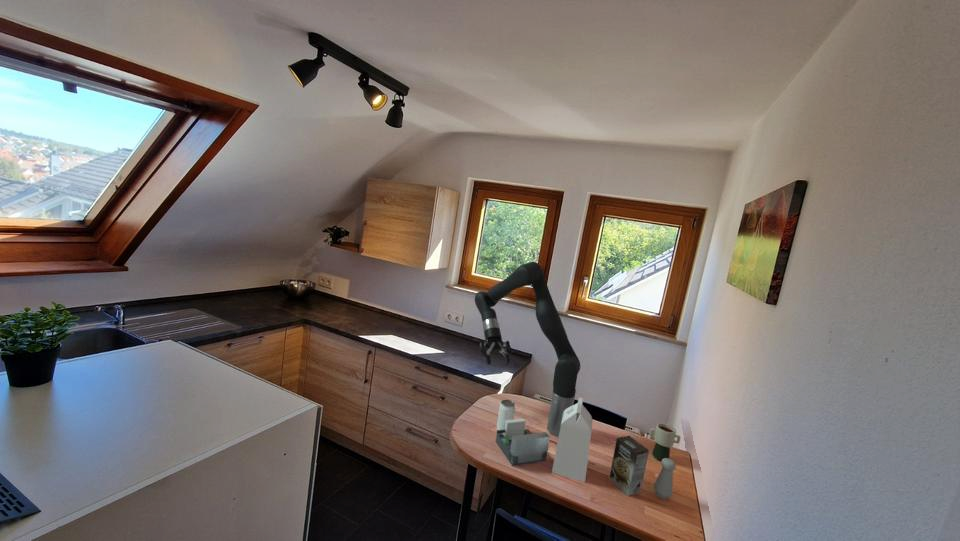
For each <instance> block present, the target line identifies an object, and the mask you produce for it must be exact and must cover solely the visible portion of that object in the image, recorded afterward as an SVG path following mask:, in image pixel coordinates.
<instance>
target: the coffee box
mask: <svg viewBox="0 0 960 541" xmlns="http://www.w3.org/2000/svg"><path fill="white" fill-rule="evenodd" d="M615 441H616V442H615V446H614V452H613V457H612V463H611V467H610V472H609V478H608V480H610V482H612V483H613V484H614V485H615V486H616V487H618V488H619V489H620V490H621V491H622V492H623V493H624V494H625V495H626V496H627V497H629V496H633V495H637V494H640V493H641V492H642V487H643V481H644V477H645V473H646V466H647V463H648V458H649V453H650V450H649V449H648V448H647V447H645V446H644V445H643V444H642V443H640V442H639V441H637V440H636V439H635V438H633V437H632V436H630V435H626V436H625V435H624V436H620V437H617V438H616V440H615Z"/></svg>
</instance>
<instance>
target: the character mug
mask: <svg viewBox="0 0 960 541" xmlns="http://www.w3.org/2000/svg"><path fill="white" fill-rule="evenodd" d="M653 432H654V433H653ZM676 433H677V429H676V428H675V427H673V425H672V426H671V425H670V424H668V423H664V422H659V423H657V424H656V426H655V428H654V427H653V428H652V427H651V428H650V429H649V433H648V434H649V436H651V437H653V438H654V441H655V444H654V447H653V449H652V455H653V457H654V458H655V459H657V460H659V461H662V459H664V458H668V459H670V455H671V448H672V447H673V446H674V444H680V441H681V436H680V435H678V434H676ZM675 438H677V439H675Z"/></svg>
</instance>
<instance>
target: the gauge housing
mask: <svg viewBox="0 0 960 541" xmlns="http://www.w3.org/2000/svg"><path fill="white" fill-rule="evenodd" d="M550 437H551V436H550V435H549V433H547V432H546V431H545V432H538V433H537V432H535V433H532V431H531V430H529V428H525V430H524V435H518V436H512V440H509V441H508V440H507V439H506V438H505V436H504V435H503V433H498V434H497V433H496V436H495V443H496V444H497V446H498V447H499V449H500V450H501V451H502V454H504V456H505V458H506V459H507V460H508V462H509V463H510V465H511V466H512V467H514V466H515V467H516V465H517V466H522V465H528V464H534V463H536V464H537V463H541V462H546V461H547V457H548V451H549V445H550V439H551V438H550Z"/></svg>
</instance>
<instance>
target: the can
mask: <svg viewBox="0 0 960 541" xmlns="http://www.w3.org/2000/svg"><path fill="white" fill-rule="evenodd" d="M515 411H516V405H515V402H514V401H512V400H511V399H510V400H509V399H503V400H501V401H500V404H499V408H498V416H497V422H496V431H497V430H504V427H505V420H512V419H515V413H516V412H515ZM502 434H504V433H502Z"/></svg>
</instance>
